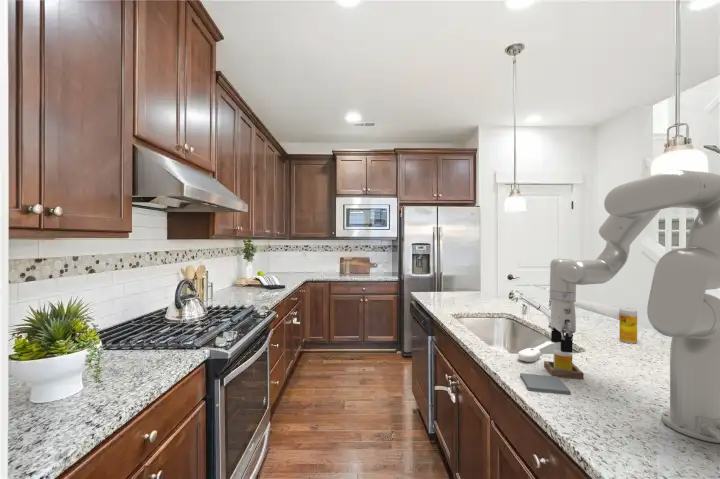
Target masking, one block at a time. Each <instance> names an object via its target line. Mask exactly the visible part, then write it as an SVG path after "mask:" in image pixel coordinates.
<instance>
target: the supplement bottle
mask: <svg viewBox="0 0 720 479" xmlns="http://www.w3.org/2000/svg"><path fill="white" fill-rule="evenodd" d="M555 347H556V348H554V349H553V362H554V370H563V371H572V363H573V352H572V353H569V352H562V351H561V342H557V343H555Z"/></svg>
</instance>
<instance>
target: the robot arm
mask: <svg viewBox="0 0 720 479" xmlns="http://www.w3.org/2000/svg"><path fill="white" fill-rule="evenodd" d="M603 206H604V209H605V211H606V212H607V213H608V214H609V216H608V217H607V218H606V219H605V221H604V222H603V223H602V225H600V227H599V229H598V234H599V236H600V237H601V239H603V240H604V241H605V242H606V244H605V248H604V249H603V250H602V252H601V253H600V254H599V255H598V256H597V258H596V259H592V260H591V259H588V260H587V259H586V260H585V259H584V260H574V259H570V258H569V259H568V258H554V259H552V260H551V261H550V264H549V265H550V267H549V268H550V272H549V274H550V276H549V300H550V301H551V307H550V324H551V329H550V330H551V334H550V335H551V336H550V341H551V342H554V344H556V343H557V342H561V351H562V352H569V353H572V354H573V341H574V334H575V333H576V331H577V322H576V321H577V320H576V317H577V316H576V315H577V314H576V306H575V305H576V304H575V303H576V299H577V295H576V294H577V286H579V285H580V286H585V285H599V284H605V283H608V282H609V281H611V280H612V279H613V278H614V277H616V275H617V274H618V273H619V272H620V271H621V270H622V268H623V267H624V266H625V264H626V263H627V261H628V258H629V255H630V247H631V245H632V243H633V242H634V241H635V240H636V238H638V237H639V235H640V234H641V233H642V231H644V229H645V228H647V226H648V225H649V224H650V223H651V221H652V220H653V219H655V217H657V215H658V213H659V212H661V210H664V209H670V208H671V209H672V208H679V209H695V210H697V212H698V213H697V215H696V217H695V219H694V220H693V222H692V224H691V226H690V228H689V234H688V238H687V243H686V246H685V247H681V248H674V249H673V250H669V251H668V252H666V253H665V254H664V255H662V256H661V257H660V258H659V260H658V261H657V264H656V266H655V268H654V272H653V277H652V281H651V286H650V291H649V294H648V295H649V296H648V301H647V307H646V310H647V311H646V314H647V318H648V321H649V324H650V325H651V326H652V327H653V329H655V331H656V332H658V333H660V335H661V334H662V335H663V336H666V337H669V338H671V341H670V348H669V349H670V350H669V410H666V411H662V413H661V421H662V422H663V423H664V424H665V425H666V426H667V427H669V428H671V429H673V431H676V432H679V433H681V434H683V435H685V436H688V437H691V438H694V439H696V440H697V439H698V440H701V441H705V442H709V443H715V444H720V298H719V297H717V296H714V295H712V294H709V293H708V294H707V293H706V291H710V290H717V289H720V174H717V173H713V172H712V173H711V172H706V171H705V172H704V171H694V170H685V169H674V170H673V169H672V170H667V171H663V172H658V173H655V174H652V175H649V176H645V177H643V178H639V179H637V180H633V181H629V182H626V183H622V184H619V185H617V186H615V187H613V188H612V189H611V190H610V191H609V192H608V193H607V195H606V196H605V199H604V204H603Z"/></svg>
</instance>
